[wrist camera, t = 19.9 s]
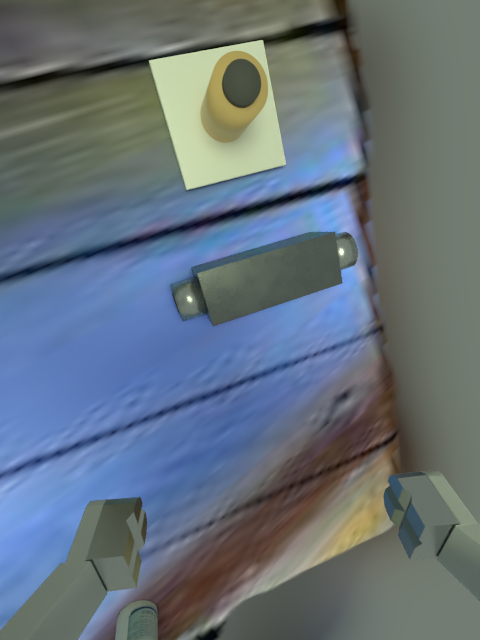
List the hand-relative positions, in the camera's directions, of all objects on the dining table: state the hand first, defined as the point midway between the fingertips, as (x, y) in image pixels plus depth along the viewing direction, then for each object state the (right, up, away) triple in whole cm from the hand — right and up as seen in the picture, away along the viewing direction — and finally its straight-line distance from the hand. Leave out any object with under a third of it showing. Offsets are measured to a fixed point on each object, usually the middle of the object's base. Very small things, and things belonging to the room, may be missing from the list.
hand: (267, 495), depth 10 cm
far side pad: (-3, +28, +24) cm, 37 cm away
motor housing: (+1, +12, +29) cm, 32 cm away
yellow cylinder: (-3, +27, +23) cm, 36 cm away
